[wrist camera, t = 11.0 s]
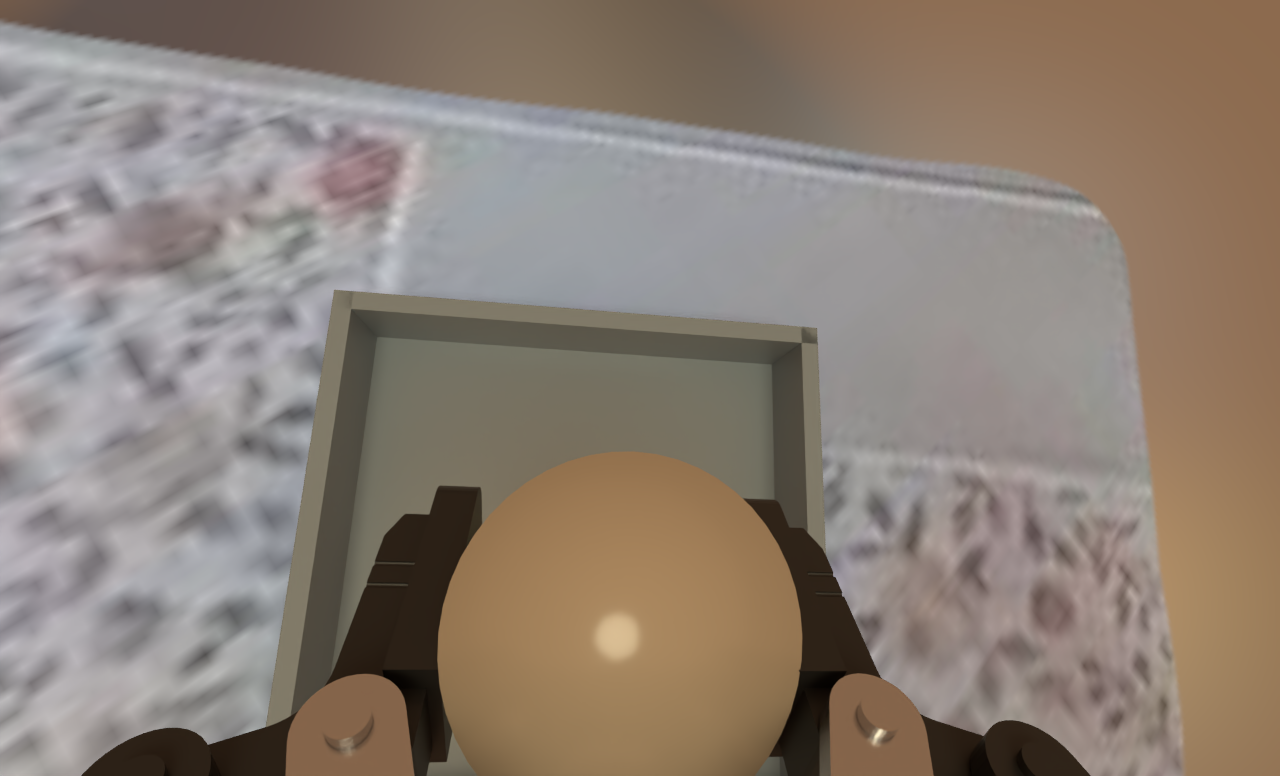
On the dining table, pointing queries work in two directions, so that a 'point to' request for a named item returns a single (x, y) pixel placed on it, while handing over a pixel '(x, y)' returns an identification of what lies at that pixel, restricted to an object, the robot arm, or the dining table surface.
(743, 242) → the dining table surface
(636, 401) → the bin
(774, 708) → the lidded yellow jar
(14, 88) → the dining table surface
